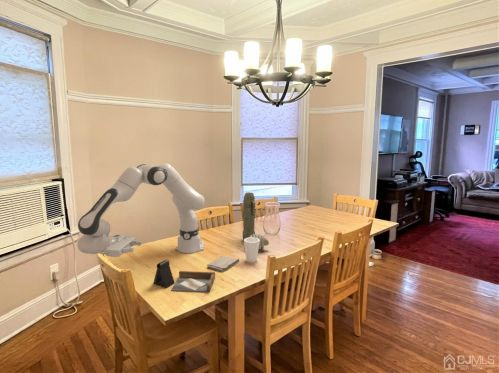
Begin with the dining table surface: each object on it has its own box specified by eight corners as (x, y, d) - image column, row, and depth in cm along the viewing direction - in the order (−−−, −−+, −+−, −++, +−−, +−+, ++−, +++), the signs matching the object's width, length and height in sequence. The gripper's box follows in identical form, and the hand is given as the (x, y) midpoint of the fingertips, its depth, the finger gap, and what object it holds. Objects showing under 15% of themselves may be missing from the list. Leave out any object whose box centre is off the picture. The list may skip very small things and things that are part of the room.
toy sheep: (269, 253, 205) (270, 236, 203) (243, 253, 203) (243, 237, 201) (267, 247, 215) (267, 231, 213) (242, 247, 214) (242, 231, 212)
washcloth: (206, 269, 181) (205, 264, 181) (223, 258, 197) (223, 253, 196) (223, 273, 176) (223, 268, 175) (239, 262, 191) (239, 257, 191)
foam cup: (248, 256, 199) (248, 236, 197) (261, 258, 195) (262, 238, 193) (241, 261, 191) (241, 241, 188) (255, 264, 187) (255, 243, 184)
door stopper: (153, 284, 162) (152, 262, 160) (161, 279, 167) (160, 257, 165) (166, 288, 158) (165, 265, 155) (174, 283, 163) (173, 261, 161)
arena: (179, 277, 170) (179, 271, 169) (214, 278, 168) (214, 272, 168) (171, 291, 155) (170, 284, 154) (209, 292, 154) (209, 285, 153)
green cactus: (250, 244, 219) (250, 195, 213) (238, 240, 228) (238, 192, 222) (259, 241, 225) (259, 193, 219) (247, 237, 234) (248, 191, 228)
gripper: (99, 247, 150) (127, 248, 149) (119, 233, 170) (144, 234, 169) (99, 259, 151) (128, 260, 150) (120, 244, 171) (145, 245, 170)
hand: (137, 246), depth 160 cm, fingers open, 8 cm apart
